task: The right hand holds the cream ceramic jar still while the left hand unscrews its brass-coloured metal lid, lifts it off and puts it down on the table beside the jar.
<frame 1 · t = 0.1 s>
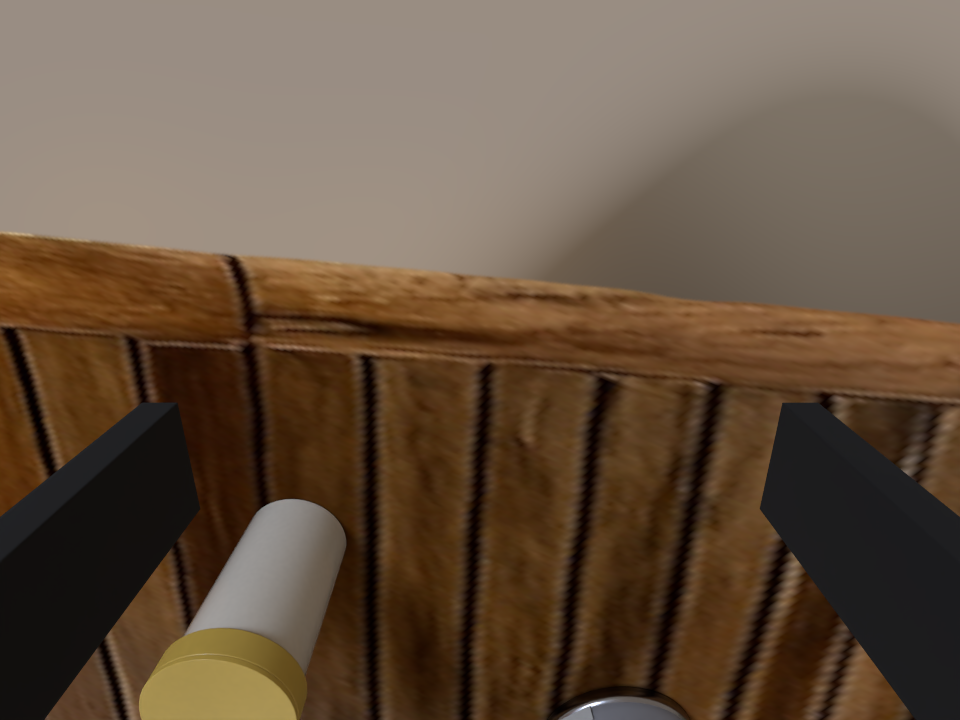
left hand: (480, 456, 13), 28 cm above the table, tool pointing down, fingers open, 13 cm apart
jar: (297, 539, 48), on the table
lid: (220, 711, 34), point 15 cm above the table, screwed on, not yet turned
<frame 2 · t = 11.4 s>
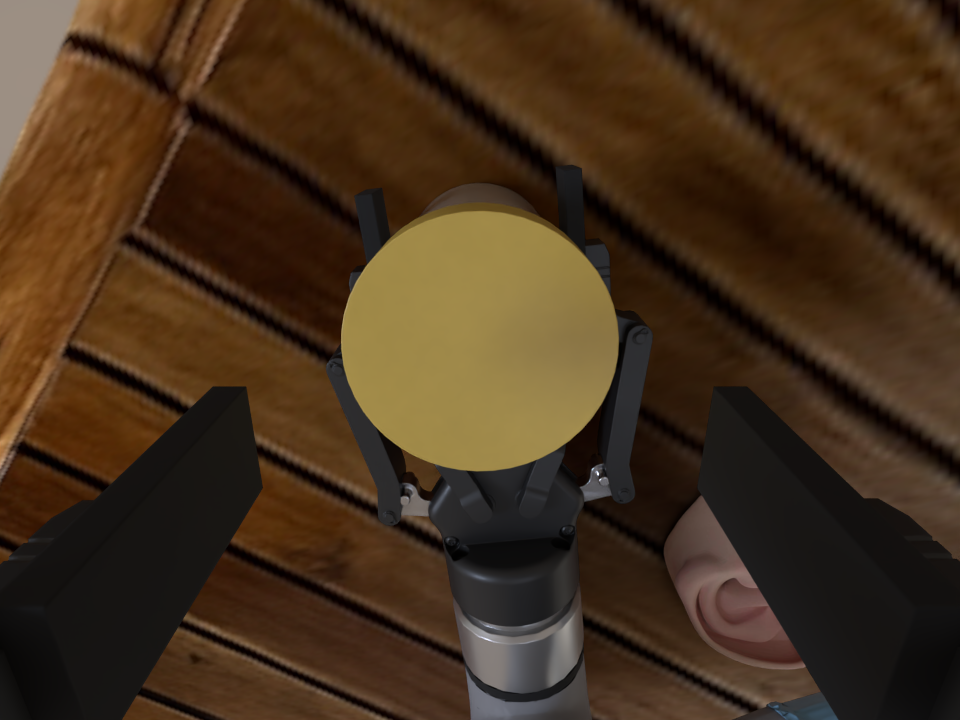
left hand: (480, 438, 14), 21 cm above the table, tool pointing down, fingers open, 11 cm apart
right hand: (467, 180, 25), fingers closed on jar, 8 cm apart
jar: (480, 256, 33), on the table, touching right hand
anatomical model: (739, 557, 41), on the table
lid: (480, 349, 19), point 15 cm above the table, screwed on, not yet turned
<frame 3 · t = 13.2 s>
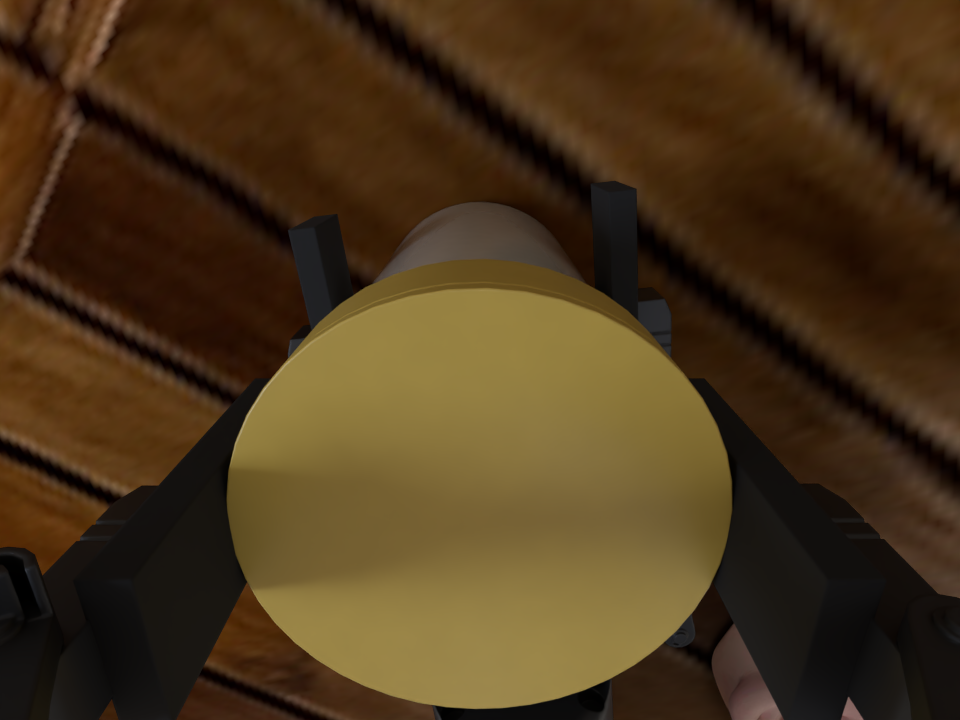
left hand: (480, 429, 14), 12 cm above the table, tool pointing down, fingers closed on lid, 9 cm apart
jar: (480, 298, 25), on the table, touching right hand
anatomical model: (806, 666, 33), on the table
lid: (479, 520, 11), point 15 cm above the table, screwed on, not yet turned, touching left hand
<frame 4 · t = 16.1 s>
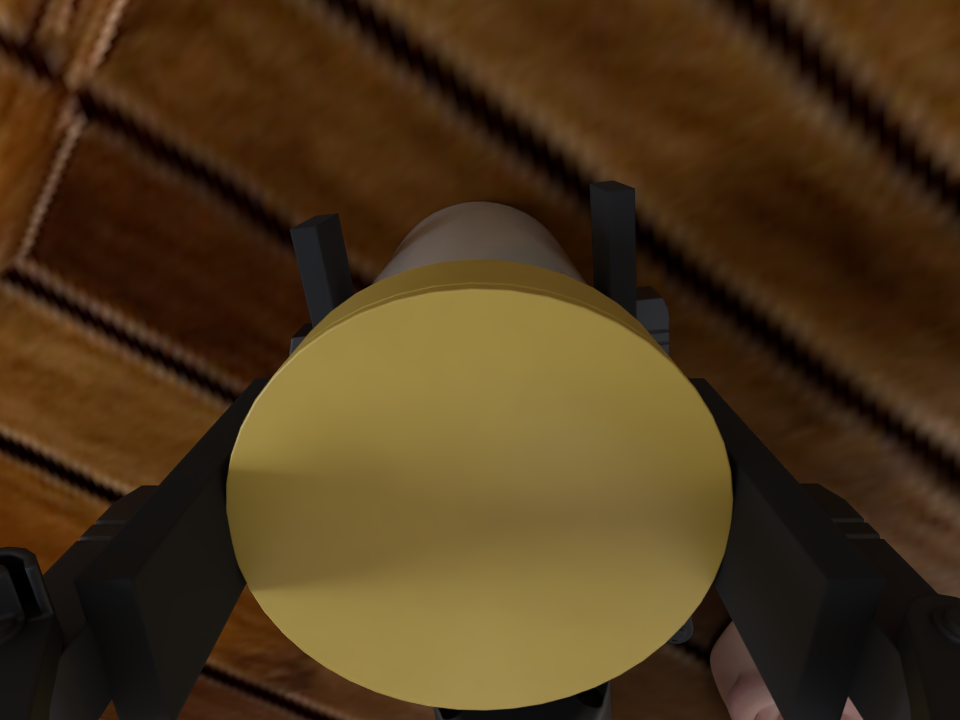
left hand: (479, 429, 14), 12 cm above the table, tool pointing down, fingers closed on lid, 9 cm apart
jar: (479, 297, 25), on the table, touching right hand
anatomical model: (804, 664, 33), on the table
lid: (479, 521, 11), point 15 cm above the table, turned 63° so far, risen 0.2 cm, still on its thread, touching left hand
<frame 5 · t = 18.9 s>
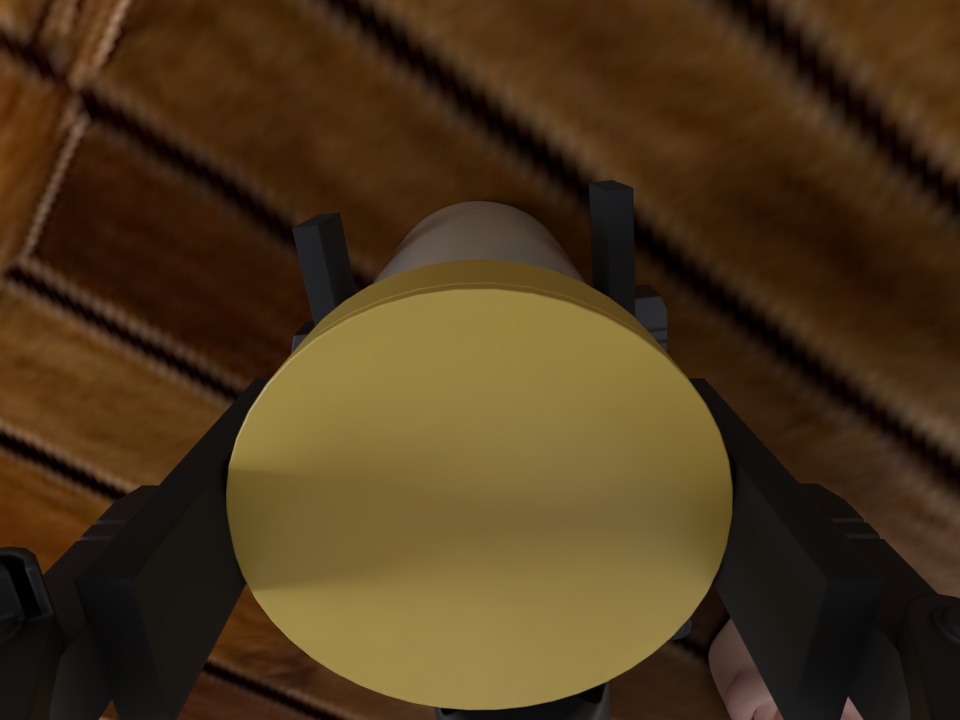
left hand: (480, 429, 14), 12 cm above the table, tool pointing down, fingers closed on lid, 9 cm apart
jar: (479, 296, 25), on the table, touching right hand
anatomical model: (801, 661, 33), on the table
lid: (479, 521, 11), point 16 cm above the table, turned 126° so far, risen 0.4 cm, still on its thread, touching left hand
when the left hand's fingers open (0 cm above the table, at t = 24.5 s): lid drops 2 cm, point 2 cm above the table.
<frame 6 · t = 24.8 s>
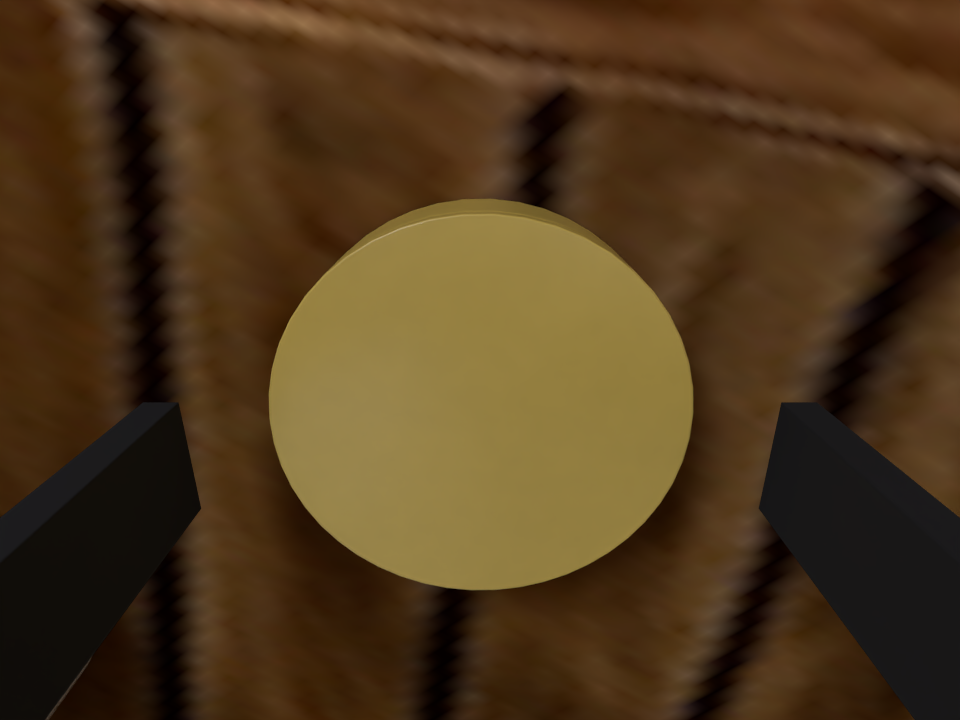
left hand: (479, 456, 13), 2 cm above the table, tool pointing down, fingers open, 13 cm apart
lid: (481, 421, 13), point 2 cm above the table, off its thread
when the right hand's fingers open (7 cm above the table, at t = 25.3 s): jar stays where it is, on the table.
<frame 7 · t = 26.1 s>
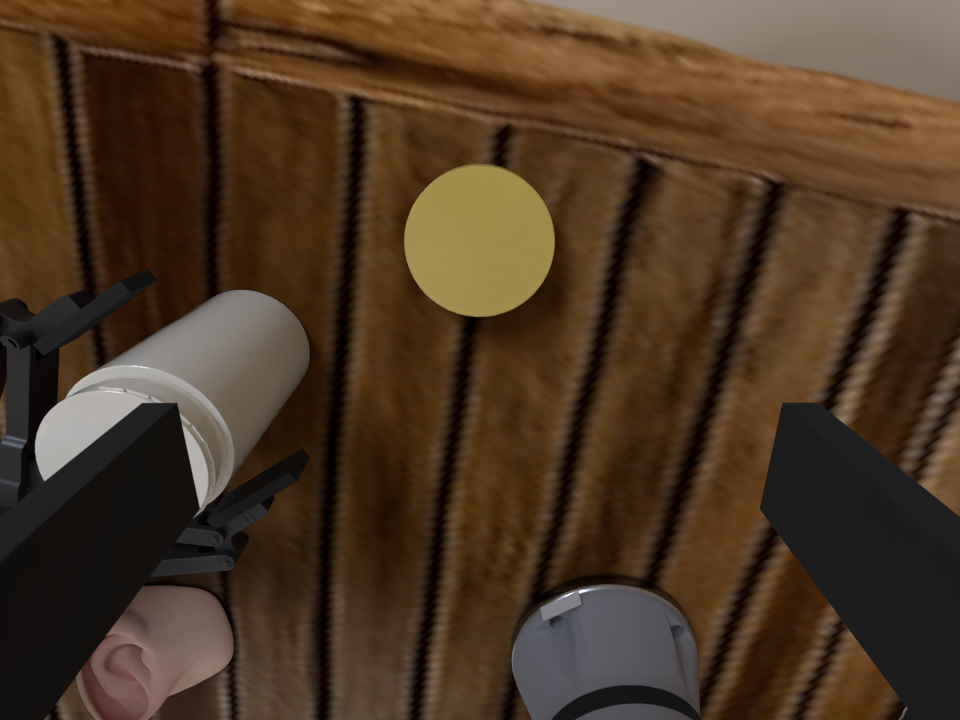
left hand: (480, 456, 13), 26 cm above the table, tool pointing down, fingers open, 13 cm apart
jar: (250, 347, 39), on the table
anatomical model: (165, 637, 49), on the table
lid: (479, 243, 35), point 2 cm above the table, off its thread
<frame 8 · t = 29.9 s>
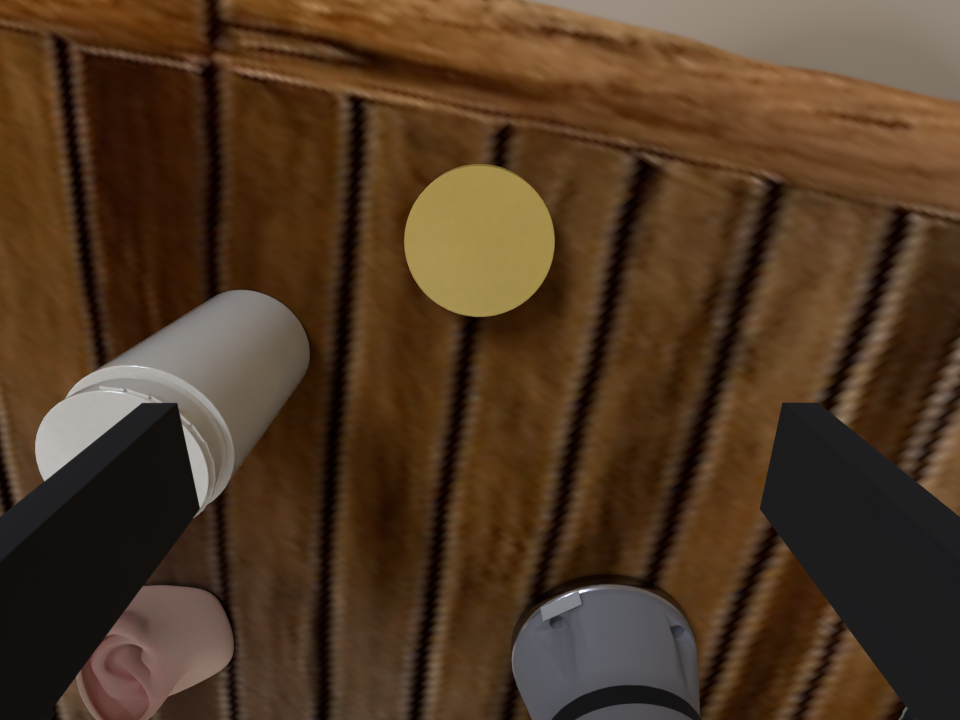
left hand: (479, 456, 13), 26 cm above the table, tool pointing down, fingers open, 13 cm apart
jar: (250, 347, 39), on the table
anatomical model: (165, 637, 49), on the table
lid: (479, 244, 35), point 2 cm above the table, off its thread
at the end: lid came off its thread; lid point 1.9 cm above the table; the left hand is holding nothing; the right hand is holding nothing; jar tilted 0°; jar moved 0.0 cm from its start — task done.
